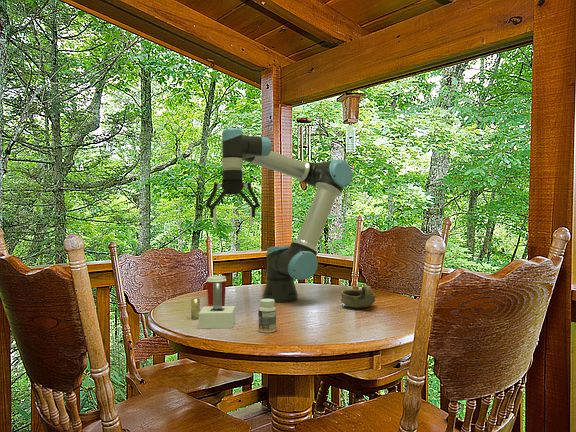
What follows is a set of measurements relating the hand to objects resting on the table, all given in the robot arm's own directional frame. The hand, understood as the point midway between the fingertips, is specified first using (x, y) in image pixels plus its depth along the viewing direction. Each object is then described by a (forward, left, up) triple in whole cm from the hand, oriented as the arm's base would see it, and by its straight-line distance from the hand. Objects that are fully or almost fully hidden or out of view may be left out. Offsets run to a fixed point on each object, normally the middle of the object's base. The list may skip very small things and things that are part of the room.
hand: (233, 226), depth 172 cm
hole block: (+4, +17, -33) cm, 37 cm away
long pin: (+4, +17, -33) cm, 37 cm away
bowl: (-49, -5, -33) cm, 59 cm away
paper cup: (+6, +2, -33) cm, 34 cm away
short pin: (+13, +8, -33) cm, 36 cm away
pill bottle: (-13, +26, -33) cm, 44 cm away
